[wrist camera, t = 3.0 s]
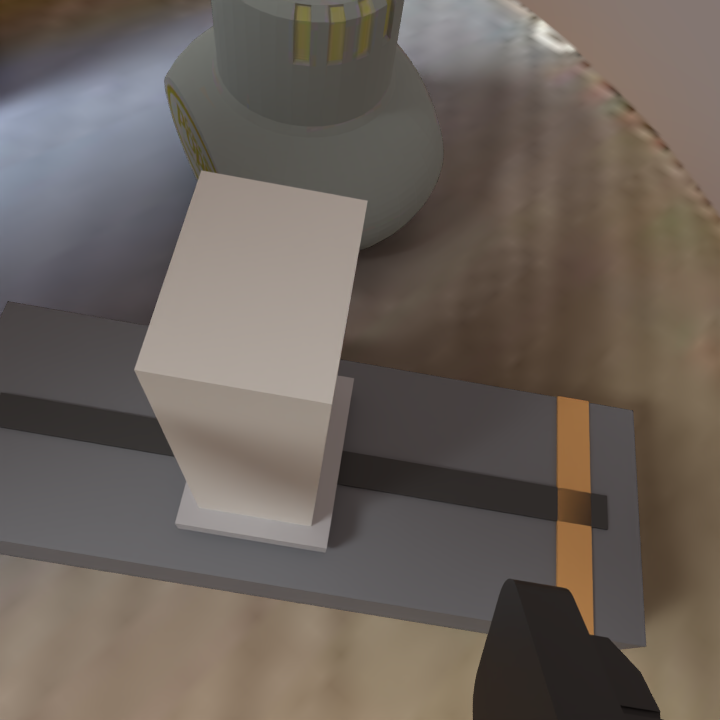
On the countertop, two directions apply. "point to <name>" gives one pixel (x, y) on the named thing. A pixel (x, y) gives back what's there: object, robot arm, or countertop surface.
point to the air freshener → (311, 104)
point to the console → (353, 493)
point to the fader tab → (256, 357)
